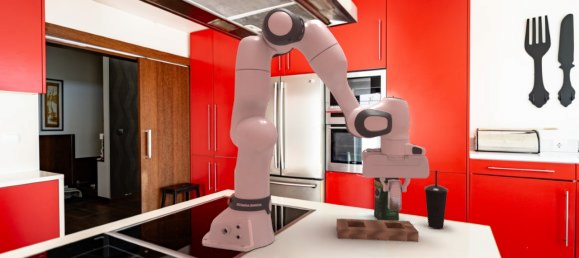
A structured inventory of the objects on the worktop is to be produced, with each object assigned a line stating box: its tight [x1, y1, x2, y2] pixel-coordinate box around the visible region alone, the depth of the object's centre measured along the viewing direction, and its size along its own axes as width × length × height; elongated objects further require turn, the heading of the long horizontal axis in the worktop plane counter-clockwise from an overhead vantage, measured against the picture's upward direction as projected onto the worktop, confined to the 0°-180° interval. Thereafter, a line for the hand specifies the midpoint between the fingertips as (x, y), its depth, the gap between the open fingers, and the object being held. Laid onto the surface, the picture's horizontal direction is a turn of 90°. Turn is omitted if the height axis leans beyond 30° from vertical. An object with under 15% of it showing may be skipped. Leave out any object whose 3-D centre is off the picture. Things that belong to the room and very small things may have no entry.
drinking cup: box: [424, 170, 449, 230], centre depth 107 cm, size 8×8×20 cm
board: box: [336, 218, 419, 243], centre depth 98 cm, size 24×10×4 cm, turn 84°
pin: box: [388, 179, 402, 211], centre depth 97 cm, size 4×4×9 cm
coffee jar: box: [373, 178, 400, 221], centre depth 114 cm, size 10×8×19 cm
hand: (394, 191), depth 97 cm, fingers closed on pin, 4 cm apart
